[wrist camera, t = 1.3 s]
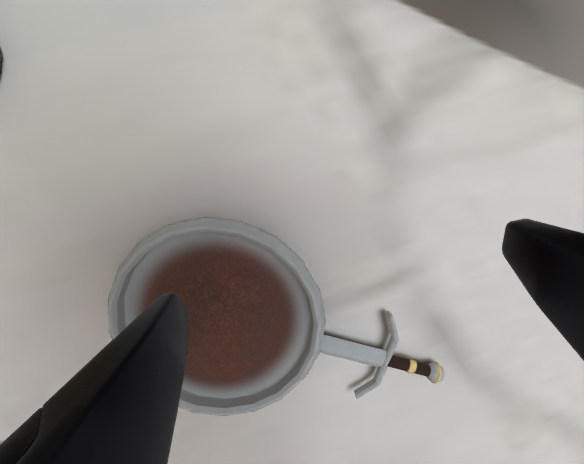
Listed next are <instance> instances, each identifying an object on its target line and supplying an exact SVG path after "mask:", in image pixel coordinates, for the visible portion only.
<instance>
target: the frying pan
mask: <svg viewBox="0 0 584 464" xmlns="http://www.w3.org/2000/svg"><path fill="white" fill-rule="evenodd" d="M172 292H174V293H177V294H178V296H179V297H180V299H181V301H182V303H183V304H184V306H185V308H186V310H187V311H188V314H189V331H188V343H187V355H186V366H185V374H184V380H183V385H182V390H181V395H180V401H179V406H178V407H180V408H183V409H185V410H188V411H191V412H193V413H201V414H210V415H220V416H228V415H234V414H241V413H247V412H254V411H256V410H259V409H261V408H263V407H265V406H267V405H270V404H272V403H274V402H276V401H278V400H280V399H282V398H283V397H284V396H285V395H286V394H288V393H289V392H290V391H291V390H292V389H293V388H294V387H295V386H296V385H298V384H299V383H300V382H301V381H302V380H303V379H304V378H305V377H306V376H307V374H308V372H309V370H310V369H311V367H312V365H313V363H314V361H315V360H316V358H317V356H318V354H319V352H321V353H324V354H328V355H332V356H336V357H340V358H344V359H348V360H352V361H356V362H360V363H364V364H368V365H372V366H376V367H378V368H377V371H376V373H375V376H374V378H373V379H372V380H370V381H369V382H367V383H366V384H364V385H362V386H361V387H359V388H358V389H356V390H355V391H354V392H355V396H356V399H358V398H359V397H361V396H363V395H364V394H366V393H367V392H369V391H371V390H372V389H374V388H376V387H377V386H379V385H380V383H381V381H382V378H383V376H384V374H385V371H386V369H387V367H392V368H396V369H400V370H404V371H406V372H408V373H416V374H420V375H424V376H426V377H427V378H428V379H429V380H430V381H431V382H432V383H438V382H440V381H442V380H443V378H444V370H443V368H442V367H441V366H440V365H439V364H438V363H437V362H432V363H429V364H423V363H419V362H416V361H415V360H412V359H409V360H408V359H404V358H400V357H396V356H392V355H393V352H394V350H395V348H396V345H397V343H398V340H399V339H398V335H397V331H396V326H395V322H394V318H393V316H392V314H391V313H390V312H389V311H387V313H386V314H387V318H388V322H389V326H390V330H391V334H392V335H391V337H390V340H389V342H388V344H387V347H386V349H385V350H382V349H378V348H374V347H370V346H366V345H362V344H358V343H355V342H351V341H347V340H343V339H339V338H335V337H331V336H327V335H323V334H324V328H325V322H326V319H325V314H324V309H323V304H322V299H321V294H320V289H319V287H318V286H317V284H316V282H315V281H314V279H313V277H312V275H311V274H310V272H309V270H308V269H307V267H306V265H305V263H304V262H303V260H302V259H300V258H299V257H298V256H297V255H296V254H295V253H294V252H293V251H291V250H290V249H289V248H288V247H287V246H286V245H285V244H284V243H282V242H281V241H280V240H279V239H278V238H277V237H275V236H273V235H271V234H268V233H266V232H264V231H262V230H260V229H257V228H255V227H253V226H251V225H249V224H246V223H244V222H241V221H232V220H224V219H215V218H207V217H205V218H199V219H194V220H189V221H184V222H179V223H174V224H169V225H168V226H166V227H164V228H162V229H161V230H159V231H157V232H155V233H154V234H152V235H150V236H148V237H147V238H145V239H143V240H142V241H140V242H139V243H138V244H137V245H136V247H135V248H134V249H133V250H132V251H131V253H130V254H129V255H128V256H127V257H126V259H125V260H124V261H123V262H122V263H121V265H120V266H119V268H118V271H117V274H116V277H115V280H114V283H113V286H112V289H111V291H110V294H109V300H108V307H109V332H110V335H111V337H112V340H113V339H114V338H115V337H116V336H117V335H118V334H119V333H120V332H122V331H123V330H124V329H125V328H126V327H127V326H128V325H129V324H130V323H131V322H132V321H133V320H134V319H135V318H136V317H138V316H139V315H140V314H141V313H142V312H143V311H144V310H145V309H146V308H147V307H148V306H149V305H150V304H151V303H152V302H154V301H155V300H156V299H157V298H158V297H159V296H160V295H163V294H167V293H172Z"/></svg>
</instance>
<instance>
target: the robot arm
mask: <svg viewBox="0 0 584 464" xmlns="http://www.w3.org/2000/svg"><path fill="white" fill-rule="evenodd" d="M502 252H503V255H504V257H505V258H506V260H507V261H508V263H509V264H510V266H511V267H512V269H513V270H514V272H515V273H516V275H517V276H518V278H519V279H520V281H521V282H522V284H523V285H524V287H525V288H526V290H527V291H528V293H529V294H530V296H531V297H532V298H533V300H534V301H535V302H536V304H537V305H538V306H539V308H540V309H541V310H542V311H543V313H544V314H545V315H546V316H547V317H548V319H549V320H550V321H551V322H552V323H553V325H554V326H555V327H556V328H557V329H558V331H559V332H560V333H561V334H562V335H563V337H564V338H565V339H566V340H567V341H568V343H569V344H570V345H571V346H572V347H573V349H574V350H575V351H576V352H577V353H578V354H579V356H580V357H581V358H582V359H583V360H584V233H580V232H576V231H572V230H568V229H565V228H561V227H557V226H553V225H549V224H545V223H541V222H537V221H534V220H530V219H520V220H516V221H511V222H509V223H508V224H507V225H506V228H505V234H504V239H503V245H502ZM188 331H189V314H188V311H187V310H186V308H185V306H184V304H183V303H182V301H181V299H180V297H179V296H178V294H177V293H174V292H172V293H167V294H163V295H160V296H159V297H158V298H157V299H156V300H155V301H154V302H152V303H151V304H150V305H149V306H148V307H147V308H146V309H145V310H144V311H143V312H142V313H141V314H140V315H139V316H138V317H136V318H135V319H134V320H133V321H132V322H131V323H130V324H129V325H128V326H127V327H126V328H125V329H124V330H123V331H122V332H120V333H119V334H118V335H117V336H116V337H115V338H114V339H113V340H112V341H111V342H110V343H109V344H108V345H107V346H106V347H104V348H103V349H102V350H101V351H100V352H99V353H98V354H97V355H96V356H95V357H94V358H93V359H92V360H91V361H90V362H88V363H87V364H86V365H85V366H84V367H83V368H82V369H81V370H80V371H79V372H78V373H77V374H76V375H75V376H74V377H72V378H71V379H70V380H69V381H68V382H67V383H66V384H65V385H64V386H63V387H62V388H61V389H60V390H59V391H58V392H57V393H55V394H54V395H53V396H52V397H51V398H50V399H49V400H48V401H47V402H46V403H45V404H44V405H43V408H39V409H38V410H37V411H36V412H35V413H34V414H33V415H32V416H31V417H30V418H29V419H28V420H27V421H26V422H25V423H23V424H22V425H21V426H20V427H19V428H18V429H17V430H16V431H15V432H14V433H13V434H11V435H10V436H9V437H8V438H7V439H6V440H5V441H4V442H3V443H2V444H0V464H167V462H168V457H169V452H170V447H171V442H172V437H173V431H174V426H175V421H176V416H177V411H178V406H179V401H180V395H181V390H182V385H183V380H184V374H185V366H186V355H187V343H188Z"/></svg>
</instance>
